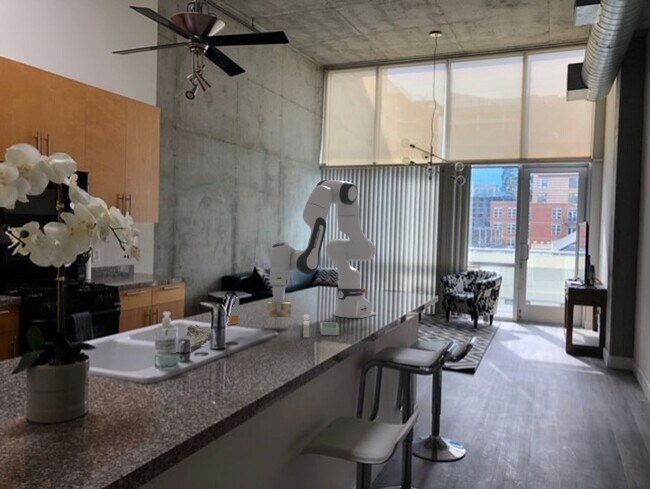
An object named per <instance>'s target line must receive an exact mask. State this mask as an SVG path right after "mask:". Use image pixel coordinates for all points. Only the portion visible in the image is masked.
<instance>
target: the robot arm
mask: <svg viewBox="0 0 650 489" xmlns="http://www.w3.org/2000/svg"><path fill="white" fill-rule="evenodd" d="M358 193H359V192H358V188H357V187H356V185H355V183H353V182H350V181H346V180H345V181H343V180H341V179H339V180H337V179H335V180H334V179H333V180H330V179H329V180H328V179H323V180H321V181H319V182H318V183H317V184H316V185H315V187H314V189H313V190H312V191H311V193H310V195H309V197H308V198H307V201H306V203H305V205H304V208H303V212H302V219H303V221H304V223H305V224H306V226H308V227H309V228H310V235H309V238H308V242H307V245H306V248H305V249H304V250H301V249H298V248H295V247H293V246H292V245H290V243H289V242H277V243H274V244H273V245H272V246H271V249H270V256H269V258H270V259H269V264H270V270H269V284H270V285H271V286H272V297H273V299H272V300H273V302H274V303H276V305H277V312H280V311H281V303H282V302H284V299H285V295H286V291H285V290H286V288H287V287H288V285H290V282H291V281H290V280H291V271H294V272H298V273H302V274H304V275H312V274H314V273H315V272H316V271H317V270H318V268H319V267H320V266H319V265H320V257H321V250H322V246H323V243H324V238H325V234H326V230H327V222H326V221H327V217H328V214H329V212H330V210H331V209H330V208H331V206H332V204H336V215H337V216H336V217H337V228H338V230H339V231H340V232H341V233H343V234H345V235H346V236H347V237H348V238H335V239H329V241H328V242H326V246H325V253H326V256H327V258H328V259H330V261H332V263H333V264H334V265H335V267H336V269H337V270H336V271H337V277H338V280H337V281H338V285H337V286H338V287H337V290H336V294H337V299H336V300H337V301H336V306H335V311H334V316H336V317H340V318H350V319H351V318H353V319H354V318H355V319H364V318H368V317H372V316H376V315H377V312H375V311H372V310H373V308H372V303H371V302H370V301H369V300H368V299H367V298H366V297H365V296H364V295H363V293H364V294H365V293H366V292H367V289H366V288H361V272H360V271H359V270H358V269H356V268H355V267H354V266H352V265H351V261H352V262H353V261H354V262H367V261H371V260H373V258H374V257H375V255H376V251H377V250H376V246H375V244H374V243H373V241H372V240H370V239H369V238H368V237H367V235H365V232H363V230H362V226H361V217H360V206H359V200H358V195H359V194H358Z"/></svg>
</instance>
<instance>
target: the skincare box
mask: <svg viewBox="0 0 650 489" xmlns="http://www.w3.org/2000/svg"><path fill="white" fill-rule="evenodd" d="M235 297H236V302H235V304H234V305H233V307H232V309H231V313H230V317H229V322H228V325H227V326H230V325H237V324H239V317H240V316H239V314H240V311H239V309H240V308H239V307H240V297H238V296H235ZM225 298H226V297H223V302H224V299H225ZM223 302H222V303H223Z"/></svg>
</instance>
